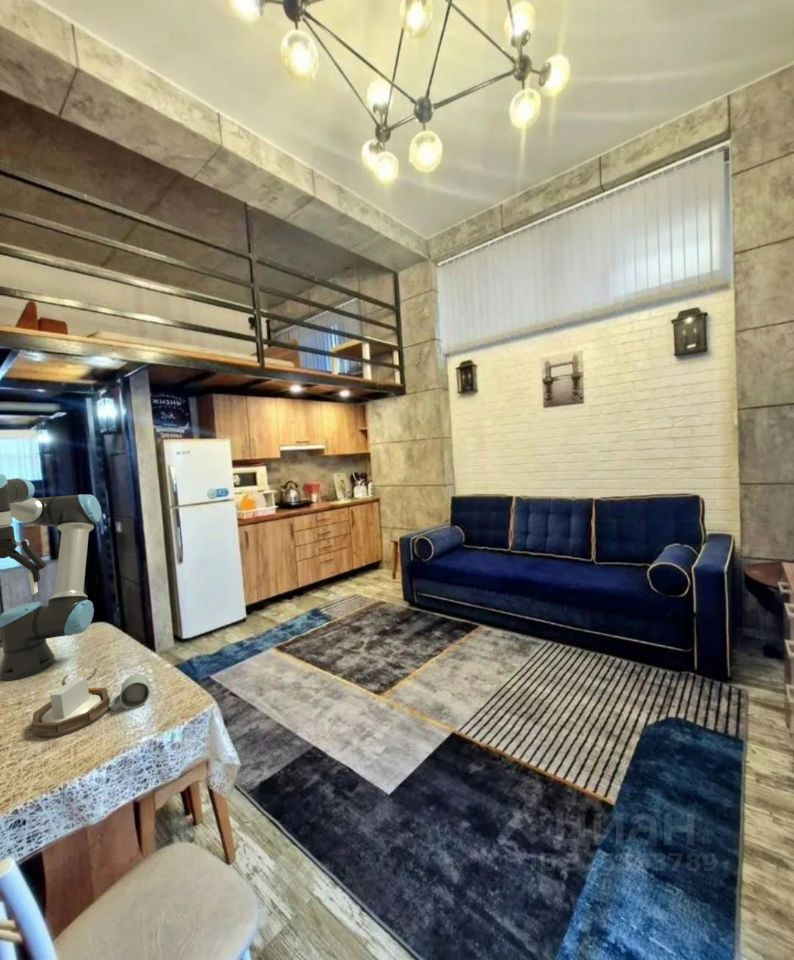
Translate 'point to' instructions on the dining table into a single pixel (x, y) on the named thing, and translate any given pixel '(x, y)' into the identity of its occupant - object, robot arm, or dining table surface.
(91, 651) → the dining table surface
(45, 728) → the dial housing
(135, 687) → the ceramic mug
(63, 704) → the dial
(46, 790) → the dining table surface
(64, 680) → the pliers
